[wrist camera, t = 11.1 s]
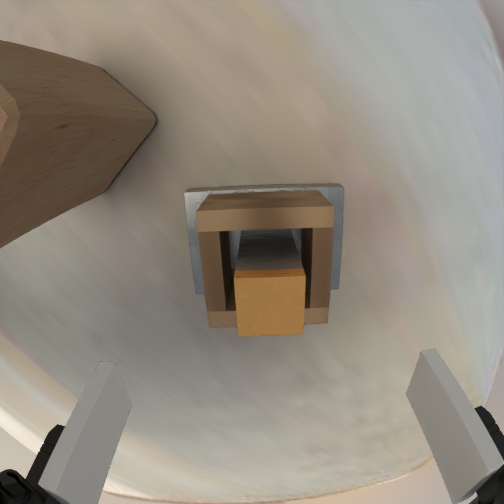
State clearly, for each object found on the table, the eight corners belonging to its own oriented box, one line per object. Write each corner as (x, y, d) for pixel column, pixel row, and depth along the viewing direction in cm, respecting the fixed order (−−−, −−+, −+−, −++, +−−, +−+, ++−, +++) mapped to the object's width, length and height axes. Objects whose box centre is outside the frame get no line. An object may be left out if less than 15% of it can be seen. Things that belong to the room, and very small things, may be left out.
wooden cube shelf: (217, 291, 30) (209, 327, 25) (208, 194, 27) (195, 211, 21) (315, 288, 30) (327, 322, 24) (318, 190, 26) (334, 206, 21)
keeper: (199, 284, 32) (169, 369, 20) (188, 188, 29) (140, 231, 16) (334, 280, 32) (371, 362, 20) (338, 183, 28) (393, 222, 16)
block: (163, 119, 26) (10, 113, 8) (103, 197, 29) (-44, 286, 10) (97, 63, 24) (-59, 26, 5) (45, 140, 26) (-107, 177, 8)
